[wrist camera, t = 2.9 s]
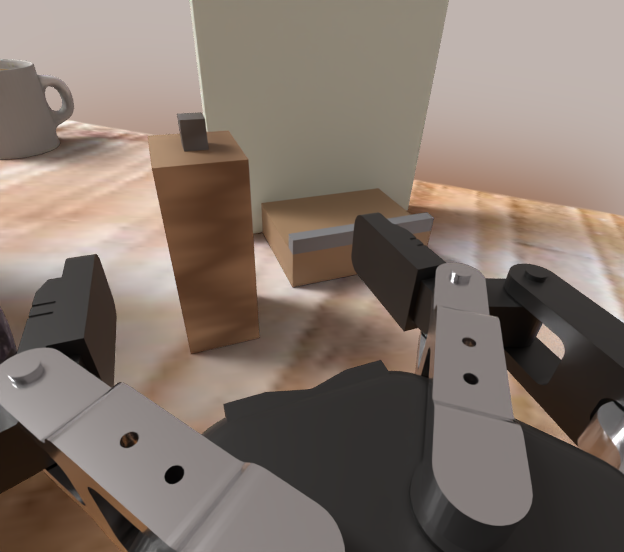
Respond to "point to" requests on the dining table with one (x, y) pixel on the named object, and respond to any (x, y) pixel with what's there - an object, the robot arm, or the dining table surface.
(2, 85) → the coffee mug
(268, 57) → the cleat board
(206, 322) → the knob board
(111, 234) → the dining table surface
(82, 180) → the dining table surface
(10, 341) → the mineral specimen
